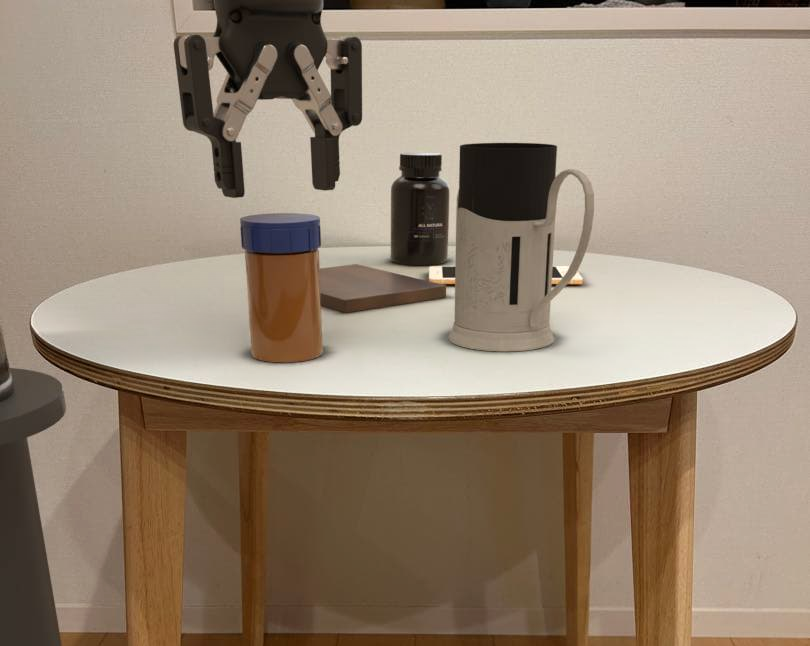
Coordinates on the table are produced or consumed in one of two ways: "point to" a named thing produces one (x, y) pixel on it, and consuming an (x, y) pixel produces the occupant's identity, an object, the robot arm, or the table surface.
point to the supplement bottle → (419, 211)
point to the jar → (284, 305)
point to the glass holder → (509, 245)
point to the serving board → (372, 288)
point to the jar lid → (280, 232)
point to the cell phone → (448, 275)
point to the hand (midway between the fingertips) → (280, 192)
